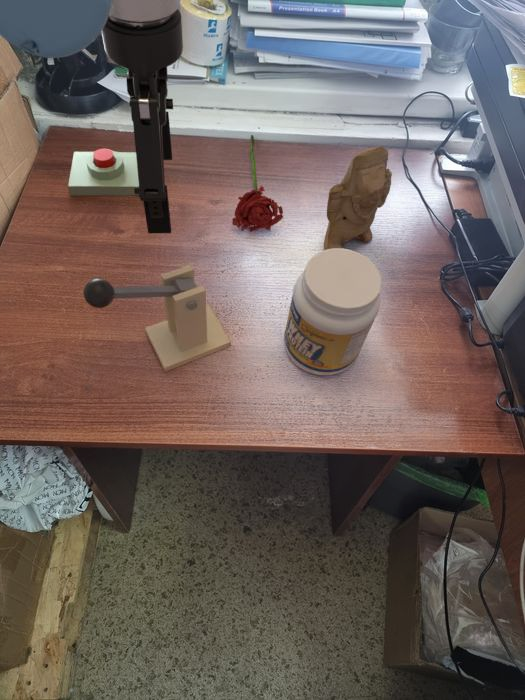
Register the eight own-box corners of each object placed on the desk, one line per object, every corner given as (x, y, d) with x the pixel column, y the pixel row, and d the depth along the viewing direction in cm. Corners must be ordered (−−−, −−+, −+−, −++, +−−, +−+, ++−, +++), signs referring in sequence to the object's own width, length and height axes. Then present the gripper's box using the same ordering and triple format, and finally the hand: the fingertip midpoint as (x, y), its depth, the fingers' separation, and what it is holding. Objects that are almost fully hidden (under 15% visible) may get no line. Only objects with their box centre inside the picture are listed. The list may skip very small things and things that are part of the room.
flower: (240, 167, 113) (245, 249, 94) (220, 129, 107) (220, 209, 87) (278, 149, 111) (291, 230, 91) (260, 109, 104) (269, 187, 84)
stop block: (70, 195, 95) (65, 178, 91) (76, 161, 100) (71, 143, 97) (141, 195, 96) (138, 178, 93) (143, 161, 101) (141, 144, 98)
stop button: (94, 168, 94) (92, 160, 92) (95, 156, 96) (94, 148, 94) (114, 168, 94) (112, 160, 93) (115, 156, 96) (113, 148, 95)
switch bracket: (164, 372, 76) (155, 318, 64) (145, 332, 80) (133, 274, 68) (230, 345, 79) (233, 290, 68) (209, 308, 83) (208, 250, 71)
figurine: (327, 268, 90) (352, 175, 73) (306, 241, 93) (326, 146, 76) (384, 247, 94) (421, 154, 77) (362, 221, 97) (393, 127, 80)
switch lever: (86, 314, 61) (92, 293, 59) (76, 293, 63) (83, 272, 60) (193, 308, 71) (202, 290, 68) (183, 290, 72) (191, 272, 70)
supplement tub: (267, 344, 80) (277, 273, 66) (316, 302, 85) (336, 229, 71) (325, 393, 76) (350, 330, 62) (373, 347, 81) (406, 278, 67)
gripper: (180, 86, 40) (191, 266, 58) (180, -48, 53) (189, 132, 71) (83, 84, 39) (125, 267, 57) (107, -52, 53) (135, 131, 70)
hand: (161, 192), depth 64 cm, fingers open, 13 cm apart
